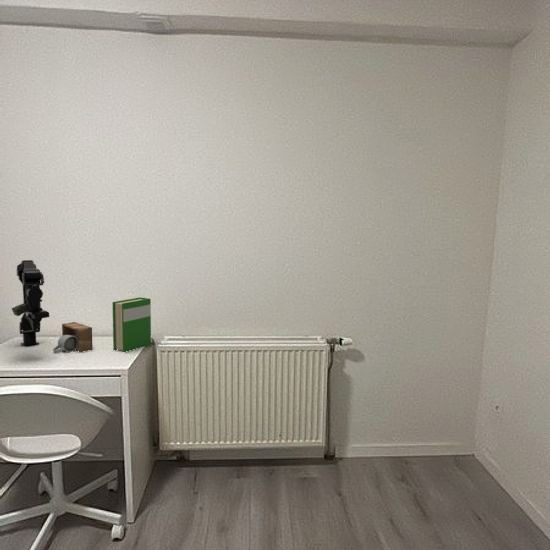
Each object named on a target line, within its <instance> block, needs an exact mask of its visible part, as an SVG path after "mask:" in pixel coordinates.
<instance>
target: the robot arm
mask: <svg viewBox="0 0 550 550" xmlns="http://www.w3.org/2000/svg"><path fill="white" fill-rule="evenodd" d="M16 277H18V280H19V282H20V283H21V284H22V296H23V297H22V301H23V303H20V304H18V305H16V306H13V307H11V311H12V313H13V315H14V316H16V317H19V316H21V315H22V316H21V318H20V321H19V327H18V329H19V335H22V339H23V342H20V345H21V344H22V346H24V347H30V346H29V345H31V346H35V345H40V343H39V342H38V341H37V333H40V332H41V321H42V320H43V319H47V318H50V312H48V310H45V309H44V310H43V308H42V306H41V303H42V302H43V299H42V298H43V295H44V292H43V290H42V289H41V286H44V284H45V278H44V277H45V276H44V274H43V272H41V270H40V269H39V268H37V264H35V262H34V260H33V259H29V260H24V259H23V260H21V262H20V263H19V264H18V265H17V266H16Z"/></svg>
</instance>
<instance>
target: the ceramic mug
mask: <svg viewBox="0 0 550 550" xmlns="http://www.w3.org/2000/svg"><path fill="white" fill-rule="evenodd" d="M78 345H79V339H78V338H77V337H75V336H71V335H63V336H60V337H59V338H58V340H57V345H56V346H54V347H53V349H52V351H53V353H54V354H59V353H61V352H63V351H66V352H67V353H72V352H75V351H77V346H78Z"/></svg>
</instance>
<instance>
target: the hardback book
mask: <svg viewBox="0 0 550 550" xmlns="http://www.w3.org/2000/svg"><path fill="white" fill-rule="evenodd" d="M151 302H152V300H151V298H147V297H133V298H128V299H127V298H126V299H122V300H115V301H112V338H113V339H112V340H113V343H112V345H113V347H112V348H113V351H114V350H115V351H122V353H123V352H125V353H127V352H126V351H128V352H130V351H129V350H131V351H134V350H133V349H135V350H137V349H136V348H138V349H141V348H144V347H147V346H151V345H152V313H151V312H152V310H151V309H152V308H151V307H152V304H151ZM140 347H141V348H140ZM117 349H118V350H117Z"/></svg>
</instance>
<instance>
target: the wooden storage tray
mask: <svg viewBox="0 0 550 550" xmlns="http://www.w3.org/2000/svg"><path fill="white" fill-rule="evenodd" d="M61 330H62V332H61V333H62V334H61V335H62V336H63V335H71V336H75V337H77V338H78V339H79V345H78V346H77V349H76V351H77V352H78V351H79V352H78V353H84V352H83V351H85V352H88V350H90V351H92V349H94V348H93V327H92V326H89V325H85V324H82V323H79V322H76V321H72V322H65V323H61Z"/></svg>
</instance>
